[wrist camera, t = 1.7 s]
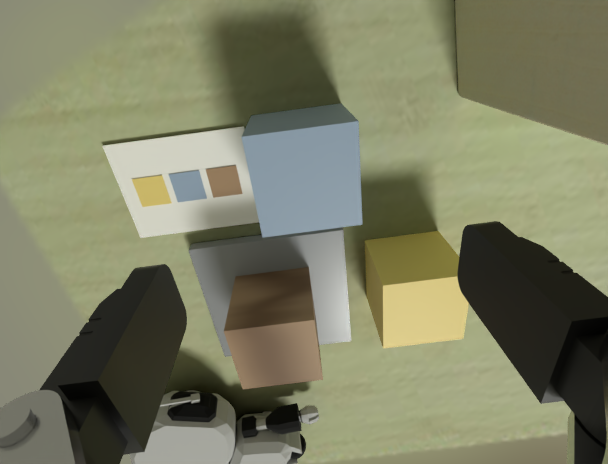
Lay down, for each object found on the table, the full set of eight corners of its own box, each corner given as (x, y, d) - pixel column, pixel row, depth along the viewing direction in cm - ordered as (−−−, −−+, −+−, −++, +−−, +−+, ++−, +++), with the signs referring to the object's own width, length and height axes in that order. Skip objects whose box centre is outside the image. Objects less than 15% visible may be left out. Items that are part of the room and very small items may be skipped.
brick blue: (341, 103, 19) (358, 121, 14) (346, 187, 21) (362, 224, 17) (251, 115, 19) (241, 136, 14) (267, 197, 21) (262, 237, 17)
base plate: (341, 224, 22) (343, 230, 21) (349, 333, 27) (351, 340, 26) (191, 243, 22) (188, 250, 22) (226, 348, 27) (224, 356, 26)
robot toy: (320, 377, 31) (147, 361, 27) (330, 425, 27) (129, 415, 23) (286, 450, 37) (138, 445, 33) (289, 499, 33) (122, 500, 29)
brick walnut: (308, 267, 23) (314, 319, 18) (316, 321, 25) (322, 379, 21) (235, 276, 23) (223, 331, 18) (250, 329, 25) (242, 389, 21)
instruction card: (244, 126, 19) (243, 127, 19) (263, 220, 22) (263, 222, 22) (103, 145, 19) (101, 146, 19) (141, 236, 22) (140, 238, 22)
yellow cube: (437, 230, 23) (473, 274, 19) (432, 287, 25) (463, 338, 21) (364, 239, 23) (383, 285, 19) (366, 296, 25) (383, 348, 21)
